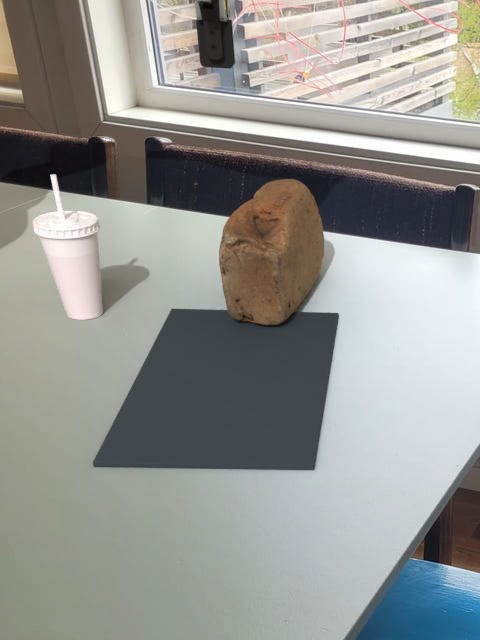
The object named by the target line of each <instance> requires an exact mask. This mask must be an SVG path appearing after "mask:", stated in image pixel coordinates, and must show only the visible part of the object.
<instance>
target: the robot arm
mask: <svg viewBox="0 0 480 640" xmlns="http://www.w3.org/2000/svg"><path fill="white" fill-rule="evenodd" d="M193 2H194V9H195V16H196V19H195V22H196V24H195V25H196V35H197V44H198V45H197V47H198V54H199V63H200V66H201V67H203V68H213V69H229V70H230V69H232V68H233V67H234V66H235V64H236V56H235V44H234V43H235V42H234V31H233V19H231V4H230V0H194V1H193Z"/></svg>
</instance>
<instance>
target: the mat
mask: <svg viewBox="0 0 480 640" xmlns="http://www.w3.org/2000/svg"><path fill="white" fill-rule="evenodd" d="M339 316H340V315H339V312H319V311H318V312H317V311H316V312H315V311H294V312H293V313H292V314H291V315H290V316H289V318H288V319H287V320H285V321H284V322H282V323H280V324H279V325H261V324H256V323H253V322H249V321H241V320H235V319H233V318H232V317H231V316H230V314H229V312H228V310H227V309H203V308H171V309H170V311H169V313H168V315H167V317H166V319H165V321H164V322H163V325H162V326H161V329H160V330H159V332H158V334H157V336H156V338H155V340H154V342H153V344H152V346H151V348H150V349H149V352H148V354H147V356H146V358H145V360H144V362H143V363H142V366H141V367H140V370H139V371H138V373H137V375H136V377H135V379H134V381H133V383H132V385H131V387H130V389H129V391H128V393H127V395H126V397H125V399H124V401H123V403H122V404H121V407H120V409H119V411H118V412H117V414H116V416H115V418H114V420H113V422H112V424H111V426H110V428H109V430H108V432H107V433H106V436H105V438H104V440H103V441H102V443H101V445H100V448H99V449H98V451H97V453H96V455H95V457H94V459H93V461H92V466H93V467H98V468H154V469H155V468H156V469H157V468H159V469H160V468H161V469H162V468H166V469H167V468H168V469H169V468H170V469H222V470H223V469H225V470H226V469H227V470H228V469H229V470H285V471H287V470H288V471H289V470H290V471H291V470H295V471H296V470H297V471H299V470H300V471H314V470H315V465H316V459H317V453H318V446H319V440H320V435H321V429H322V423H323V422H322V421H323V415H324V409H325V403H326V398H327V397H326V396H327V391H328V385H329V379H330V378H329V377H330V372H331V365H332V360H333V353H334V348H335V341H336V336H337V335H336V334H337V329H338V323H339Z"/></svg>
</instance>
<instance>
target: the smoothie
mask: <svg viewBox="0 0 480 640" xmlns="http://www.w3.org/2000/svg"><path fill="white" fill-rule="evenodd" d="M49 176H50V180H51V181H50V182H51V187H52V191H53V195H54V200H55V204H56V209H57V211H50V212H46V213H42V214H40V215H37V216H36V217H35V218H33V219H32V226H33V232H34V233H35V235H37V236H38V238H39V241H40V243H41V246H42V249H43V252H44V255H45V257H46V261H47V263H48V266H49V269H50V271H51V274H52V277H53V280H54V283H55V286H56V288H57V291H58V294H59V298H60V300H61V303H62V306H63V308H64V311H65V314H66V316H67V317H68V318H69V319H72V320H77V321H85V320H92V319H96V318H99V317H101V316H102V315H103V314H104V307H103V306H104V305H103V291H102V277H101V263H100V246H99V236H98V235H99V233H98V232H99V231H100V230H101V225H100V222H99V217H98V216H97V215H96V214H93V213H91V212H88V211H82V210H64V206H63V201H62V197H61V196H62V195H61V191H60V186H59V181H58V176H57V174H55V173H53V174H52V173H51V174H50V175H49Z"/></svg>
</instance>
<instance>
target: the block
mask: <svg viewBox="0 0 480 640" xmlns="http://www.w3.org/2000/svg"><path fill="white" fill-rule="evenodd" d="M324 256H325V236H324V224H323V221H322V216H321V214H320V210H319V207H318V204H317V202H316V199H315V196H314V195H313V194H312V193H311V190H310V189H309V188H308V186H306V185H305V184H304V183H303V182H301V180H297V179H294V178H284V179H283V178H282V179H276V180H271V181H268V182H266V183H264V184H263V185H262V186H261V187H260V188H259V189H258V190H256V192H255V193H254V194H253V198H251V199H249V200H248V201H246V202H244V203H242V204H241V205H240V206H239V207H238V208H237V209H236V210H234V211H233V212H232V213H231V215H230V216H229V217H228V219H227V220H226V221H225V223H224V226H223V229H222V234H221V240H220V243H219V249H218V265H219V271H220V277H221V283H222V292H223V297H224V300H225V305H226V310H228V312H229V314H230V316H231V317H232V318H233V319H235V320H241V321H249V322H253V323H256V324H261V325H279V324H280V323H282V322H284V321H285V320H287V319H288V318H289V316H290V315H291V314H292V313H293V312H296V310H297V309H298V308H299V306H300V305H301V304H302V302H303V301H304V299H305V298H306V296H307V295H308V294H309V292H311V289H312V288H313V286H314V285H315V282H317V279H318V278H319V275H320V272H321V269H322V263H323V259H324Z"/></svg>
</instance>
